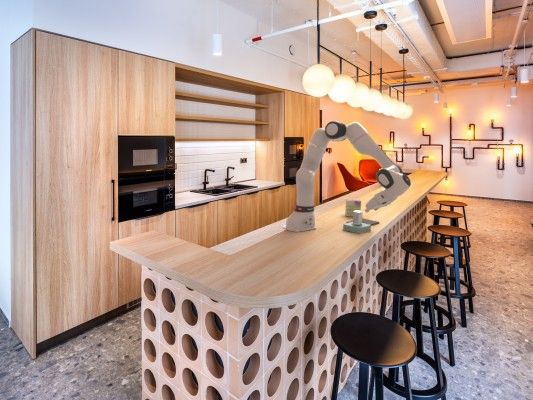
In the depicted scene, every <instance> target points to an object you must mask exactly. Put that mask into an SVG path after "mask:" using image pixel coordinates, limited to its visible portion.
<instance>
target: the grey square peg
mask: <svg viewBox="0 0 533 400" xmlns="http://www.w3.org/2000/svg"><path fill="white" fill-rule="evenodd" d="M362 218H363V211H362V210H361V211H358V210H357V211H353V216H352V220H353V225H355V226H361V225H362Z"/></svg>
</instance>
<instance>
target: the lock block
mask: <svg viewBox="0 0 533 400" xmlns="http://www.w3.org/2000/svg"><path fill="white" fill-rule="evenodd" d="M342 230H344V231H347V232H351V233H355V234H359V235H360V234H364V233H367V232H370V231H371V230H372V226H371V225H369V224H365V223H362V225H361V226H355V225H353V222H350V223H346V222H345V223H343V226H342Z"/></svg>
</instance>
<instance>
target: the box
mask: <svg viewBox="0 0 533 400" xmlns="http://www.w3.org/2000/svg"><path fill="white" fill-rule="evenodd" d="M361 208H362V200H361V199H349V198H348V199H345V208H344V209H345V212H344V215H345V217H353V211H357V210H358V211H362V209H361Z"/></svg>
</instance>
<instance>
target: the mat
mask: <svg viewBox="0 0 533 400" xmlns="http://www.w3.org/2000/svg"><path fill="white" fill-rule="evenodd" d="M350 222H353V219H352V220H349V221H346V222H345V224H346V223H350ZM362 223H365V224H369V225H371V227H372V226H375V225H378V224H380V221H377V220H373V219H369V218H363V217H362Z"/></svg>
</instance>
